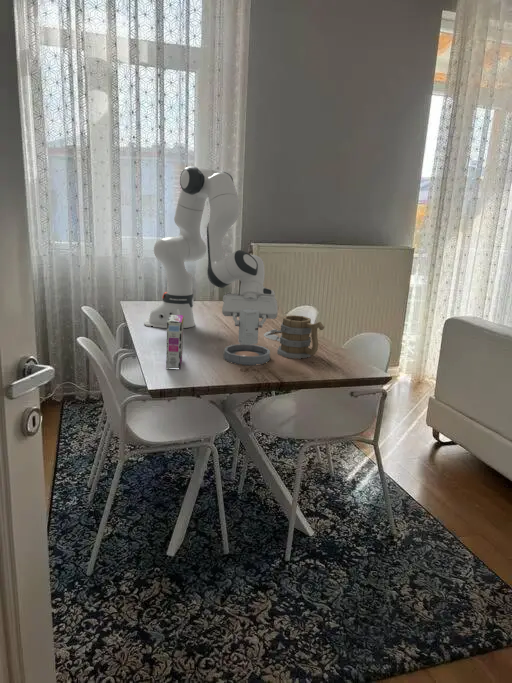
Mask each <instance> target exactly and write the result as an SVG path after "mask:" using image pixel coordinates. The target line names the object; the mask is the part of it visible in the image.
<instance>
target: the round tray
mask: <svg viewBox="0 0 512 683" xmlns="http://www.w3.org/2000/svg"><path fill="white" fill-rule="evenodd" d="M223 360H224V361H226V360H227V362H228V361H229V362H228V363H230V362H232V363H231V364H234V363H236V364H235V365H239V364H242V365H241V366H257V365H256V364H261V365H264V364H263V363H265V364H267V363H266V362H268V361H269V360H270V361H271V350H270V349H269V348H267V347H265V346H261V345H258V344H248V345H243V344H241V343H238V344H230V345H228V346H227V345H226V346H225V347H224V349H223ZM270 361H269V362H270ZM269 362H268V363H269Z"/></svg>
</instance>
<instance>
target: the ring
mask: <svg viewBox="0 0 512 683" xmlns="http://www.w3.org/2000/svg"><path fill="white" fill-rule="evenodd" d="M274 332H278V333H282V331H281V329H280V330H278V329H277V328H273V329H271V330H268V331H266V332H265V333H264V334H263V337H265V338H266V339H268V338H269V339H268V340H271V339H272V340H271V341H274V340H277V341H276V342H280V335H276V334H275V333H274ZM271 333H272V334H271Z"/></svg>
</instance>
